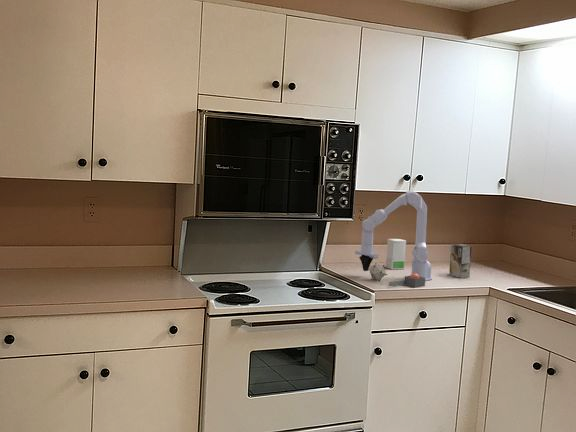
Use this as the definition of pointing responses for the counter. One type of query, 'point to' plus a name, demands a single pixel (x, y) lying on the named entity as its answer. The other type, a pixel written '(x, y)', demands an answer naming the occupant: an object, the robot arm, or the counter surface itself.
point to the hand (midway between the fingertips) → (365, 270)
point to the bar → (396, 282)
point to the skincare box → (396, 254)
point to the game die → (377, 272)
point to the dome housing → (414, 281)
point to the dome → (415, 276)
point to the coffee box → (460, 260)
